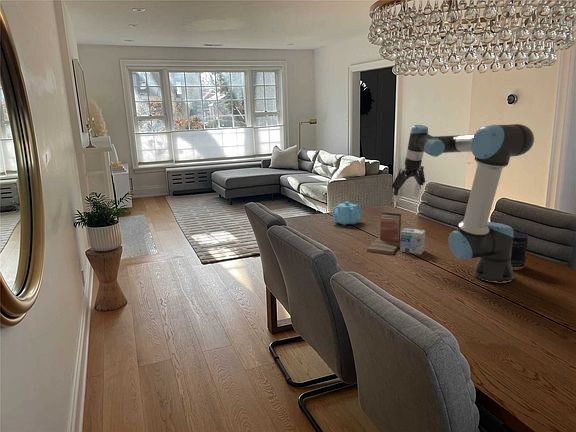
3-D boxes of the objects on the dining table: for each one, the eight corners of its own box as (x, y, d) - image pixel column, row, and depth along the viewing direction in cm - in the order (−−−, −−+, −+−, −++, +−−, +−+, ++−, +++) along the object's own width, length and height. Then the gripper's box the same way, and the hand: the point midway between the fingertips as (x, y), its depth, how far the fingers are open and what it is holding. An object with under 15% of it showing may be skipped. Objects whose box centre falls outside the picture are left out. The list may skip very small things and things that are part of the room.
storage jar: (522, 263, 202) (525, 232, 199) (527, 271, 193) (531, 238, 189) (498, 262, 205) (501, 230, 201) (502, 269, 196) (505, 237, 192)
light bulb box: (399, 251, 222) (400, 231, 219) (402, 248, 228) (403, 227, 225) (421, 254, 217) (422, 233, 214) (424, 250, 223) (425, 230, 220)
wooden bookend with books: (392, 254, 218) (393, 224, 214) (366, 251, 224) (367, 221, 220) (402, 242, 237) (404, 213, 233) (378, 239, 243) (379, 211, 239)
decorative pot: (328, 224, 275) (328, 202, 272) (341, 218, 288) (341, 198, 285) (352, 228, 266) (353, 205, 263) (364, 221, 279) (364, 200, 276)
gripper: (426, 152, 219) (418, 191, 229) (388, 158, 207) (381, 199, 217) (438, 157, 214) (429, 197, 223) (400, 164, 202) (392, 206, 211)
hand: (405, 198), depth 220 cm, fingers open, 13 cm apart
